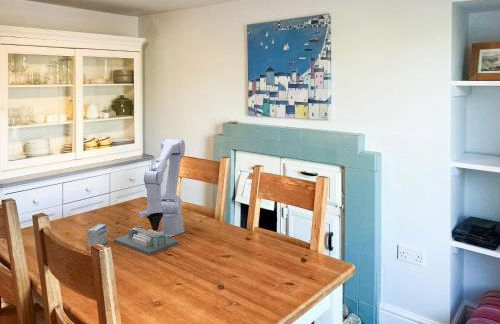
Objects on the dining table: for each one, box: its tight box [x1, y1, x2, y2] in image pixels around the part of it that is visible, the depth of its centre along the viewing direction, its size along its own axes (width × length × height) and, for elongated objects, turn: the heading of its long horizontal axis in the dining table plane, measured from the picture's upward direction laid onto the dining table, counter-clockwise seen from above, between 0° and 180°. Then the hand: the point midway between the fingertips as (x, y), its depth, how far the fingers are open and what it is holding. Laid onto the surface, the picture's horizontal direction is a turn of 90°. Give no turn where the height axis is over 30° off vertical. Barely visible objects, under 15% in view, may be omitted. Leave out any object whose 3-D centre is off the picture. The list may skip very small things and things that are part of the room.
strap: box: [131, 226, 163, 239], centre depth 186 cm, size 17×4×1 cm, turn 53°
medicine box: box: [86, 223, 108, 250], centre depth 182 cm, size 8×4×9 cm, turn 168°
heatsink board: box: [113, 224, 180, 256], centre depth 187 cm, size 16×24×6 cm, turn 52°
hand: (155, 230), depth 182 cm, fingers closed
